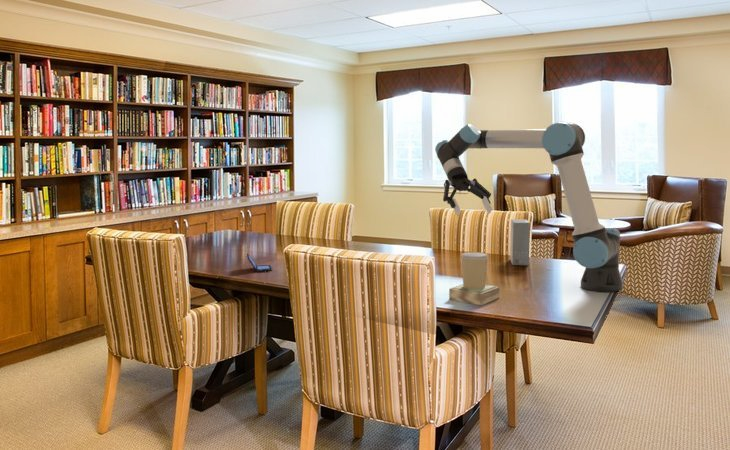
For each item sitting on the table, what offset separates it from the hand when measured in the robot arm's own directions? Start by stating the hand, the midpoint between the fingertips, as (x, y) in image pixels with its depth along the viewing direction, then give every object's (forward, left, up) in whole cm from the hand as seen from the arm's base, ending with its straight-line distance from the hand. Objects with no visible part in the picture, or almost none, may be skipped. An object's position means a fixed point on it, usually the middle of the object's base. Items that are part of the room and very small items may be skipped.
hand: (474, 212), depth 227 cm
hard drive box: (+10, -58, -30) cm, 66 cm away
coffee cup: (-8, +14, -25) cm, 30 cm away
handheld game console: (+97, +27, -30) cm, 105 cm away
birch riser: (-8, +14, -30) cm, 34 cm away
